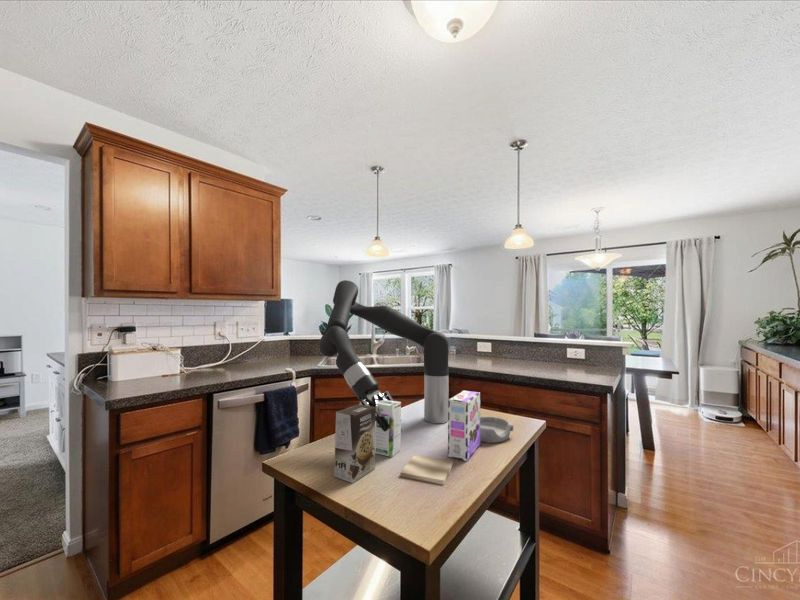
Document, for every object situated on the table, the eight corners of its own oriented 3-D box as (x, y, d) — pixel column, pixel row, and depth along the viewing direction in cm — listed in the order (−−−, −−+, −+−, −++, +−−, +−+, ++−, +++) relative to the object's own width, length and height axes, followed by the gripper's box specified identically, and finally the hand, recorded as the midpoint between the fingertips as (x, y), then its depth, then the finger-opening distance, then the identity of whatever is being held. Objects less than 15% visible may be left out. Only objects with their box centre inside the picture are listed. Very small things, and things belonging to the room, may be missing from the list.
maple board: (414, 458, 93) (414, 454, 93) (453, 465, 90) (453, 461, 90) (400, 476, 83) (400, 472, 83) (443, 484, 79) (443, 480, 79)
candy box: (467, 462, 91) (467, 401, 92) (447, 457, 94) (447, 398, 95) (481, 445, 103) (481, 391, 104) (462, 441, 106) (462, 389, 107)
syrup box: (374, 453, 96) (374, 403, 97) (384, 446, 102) (385, 398, 102) (391, 457, 94) (392, 405, 94) (401, 450, 99) (401, 400, 100)
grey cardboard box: (353, 484, 79) (354, 415, 80) (333, 477, 83) (334, 411, 83) (376, 469, 87) (376, 406, 88) (356, 463, 90) (357, 403, 91)
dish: (516, 436, 112) (516, 420, 112) (499, 448, 101) (499, 431, 101) (477, 426, 121) (477, 412, 121) (457, 437, 111) (457, 421, 111)
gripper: (367, 384, 111) (398, 426, 105) (339, 392, 99) (371, 441, 92) (381, 369, 109) (413, 412, 102) (353, 376, 96) (387, 425, 90)
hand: (393, 426), depth 97 cm, fingers closed on syrup box, 6 cm apart
